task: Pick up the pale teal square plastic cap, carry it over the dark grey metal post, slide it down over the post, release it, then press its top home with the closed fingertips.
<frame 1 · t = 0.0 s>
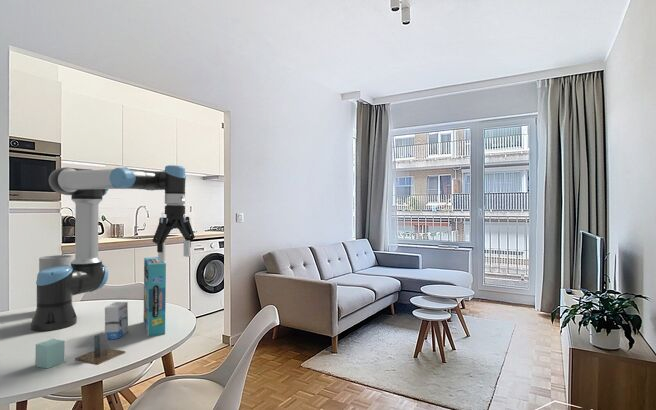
hand: (174, 258, 149), 28 cm above the table, fingers open, 13 cm apart
game box: (153, 328, 151), on the table
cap: (50, 363, 117), on the table
post: (100, 356, 123), on the table
cylinder vase: (55, 311, 174), on the table
ink box: (116, 336, 142), on the table
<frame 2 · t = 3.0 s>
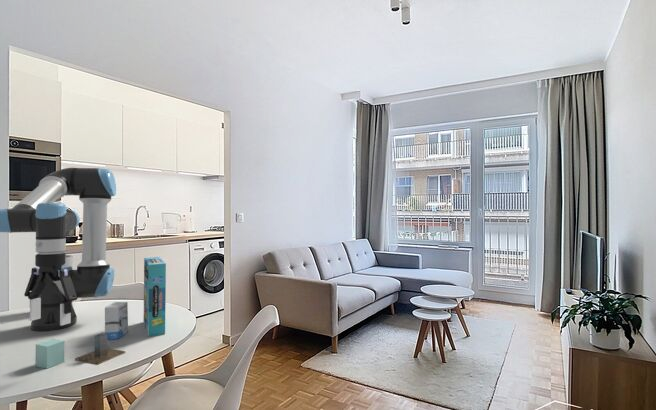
hand: (50, 321, 116), 13 cm above the table, fingers open, 13 cm apart
nothing on the table moved.
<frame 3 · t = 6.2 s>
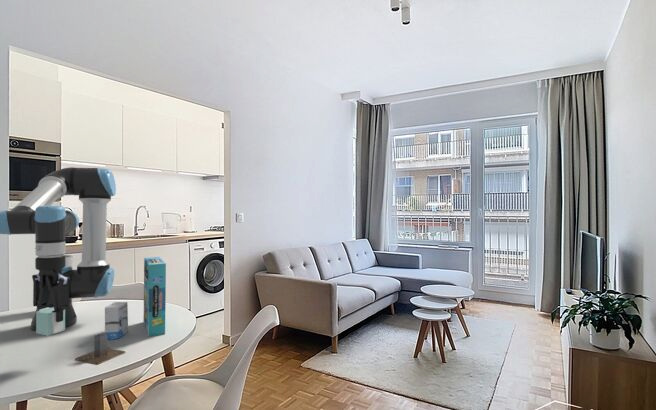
hand: (51, 330, 117), 10 cm above the table, fingers closed on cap, 5 cm apart
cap: (50, 331, 117), point 10 cm above the table, touching gripper
everything else where it was.
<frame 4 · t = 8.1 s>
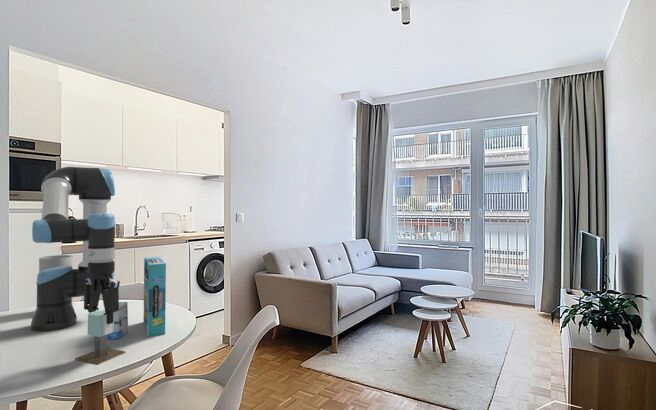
hand: (101, 332, 123), 8 cm above the table, fingers closed on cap, 5 cm apart
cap: (100, 333, 123), point 7 cm above the table, touching gripper
everything else where it was.
when the fingers open (1 cm above the table, at t = 10.1 s): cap stays where it is, resting on post.
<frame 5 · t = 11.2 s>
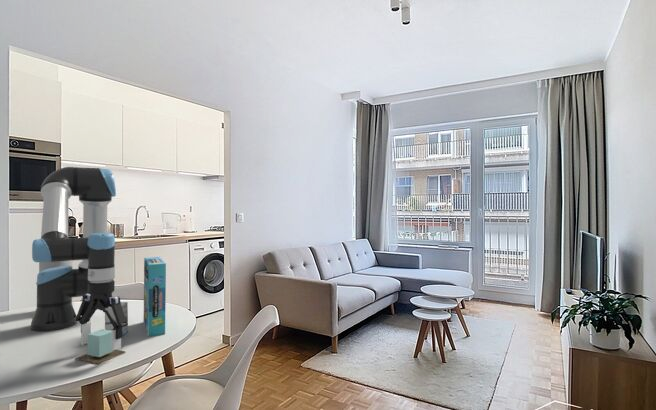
hand: (100, 346, 123), 3 cm above the table, fingers open, 13 cm apart
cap: (100, 353, 123), point 1 cm above the table, touching post
everything else where it was.
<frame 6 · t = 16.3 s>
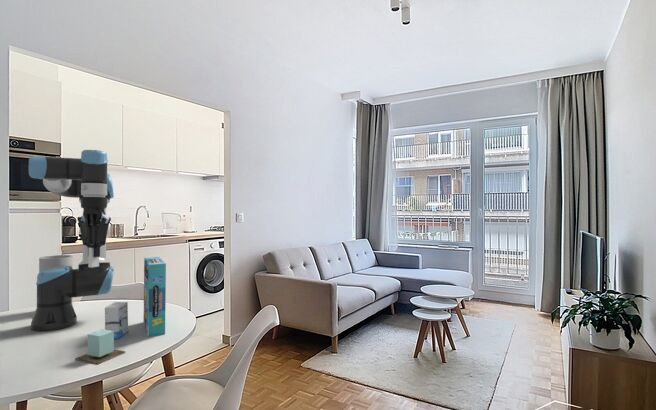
hand: (93, 266, 127), 28 cm above the table, fingers closed
nothing on the table moved.
at the end: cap 0.1 cm from the post (horizontally); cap point 1.0 cm above the table; the gripper is holding nothing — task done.
